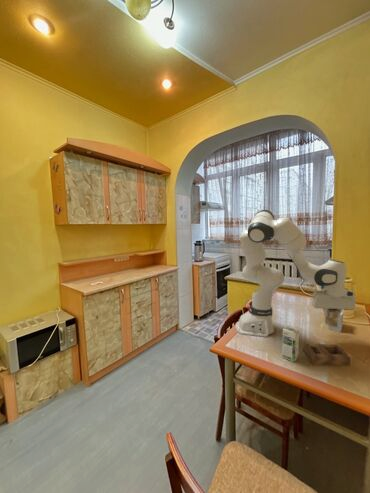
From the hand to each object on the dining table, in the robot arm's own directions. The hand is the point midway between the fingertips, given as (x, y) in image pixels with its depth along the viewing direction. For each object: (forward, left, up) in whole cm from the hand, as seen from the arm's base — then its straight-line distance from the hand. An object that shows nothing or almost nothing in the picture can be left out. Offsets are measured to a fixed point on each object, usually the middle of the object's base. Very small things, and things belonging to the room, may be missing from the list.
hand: (331, 316), depth 116 cm
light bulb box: (+11, +16, -15) cm, 24 cm away
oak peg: (0, 0, -5) cm, 5 cm away
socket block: (-10, -14, -14) cm, 23 cm away
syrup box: (-26, -14, -15) cm, 33 cm away
